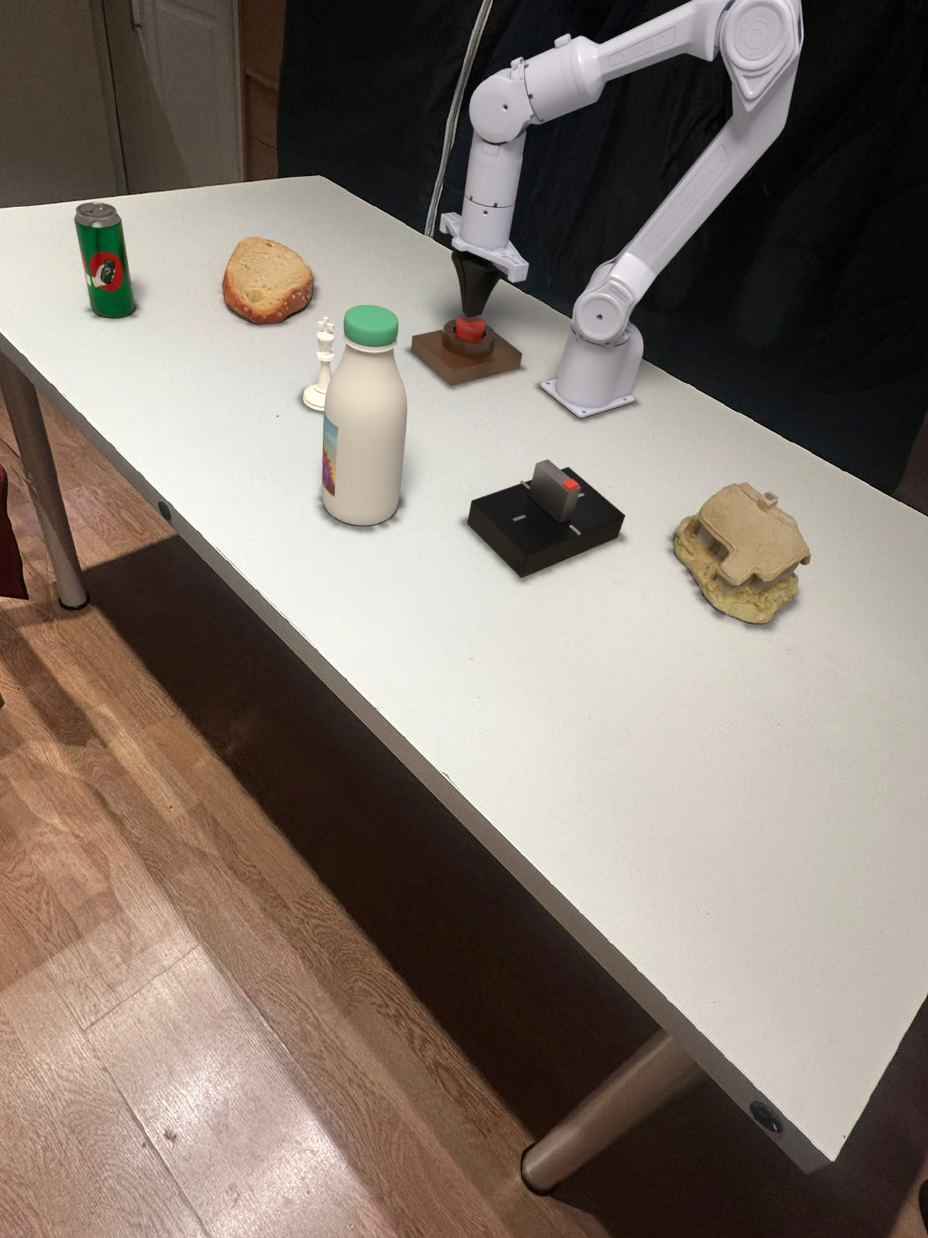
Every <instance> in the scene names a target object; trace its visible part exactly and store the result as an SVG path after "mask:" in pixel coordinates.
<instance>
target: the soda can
mask: <svg viewBox="0 0 928 1238" xmlns="http://www.w3.org/2000/svg"><path fill="white" fill-rule="evenodd" d="M75 212H76V213H75V215H74V217H73V222H74V226H75V231H76V236H77V242H78V247H79V253H80V257H81V258H80V259H81V263H82V267H83V268H82V269H83V272H84V278H85V282H86V283H85V284H86V287H87V292H88V298H89V303H90V307H91V309H92V310H93V311H94V312H95V313H97V314H98V315H99V316H102V317H105V318H112V319H113V318H115V319H116V318H122V317H125V316H128V315H129V314H131V313H132V312H133V310H134V309H135V307H136V306H135V298H134V292H133V285H132V277H131V272H130V265H129V259H128V252H127V246H126V239H125V233H124V227H123V222H122V221H123V220H122V217H121V216H120V215H119V214H118V210H117V208H116V207H115V206H113V205H112V204H109V203H105V202H95V201H93V202H85V203H81V204H79V205H77V207H76V208H75Z"/></svg>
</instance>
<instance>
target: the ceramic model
mask: <svg viewBox="0 0 928 1238" xmlns="http://www.w3.org/2000/svg"><path fill="white" fill-rule="evenodd" d="M778 502H779V497H778V496H777V495H776V494H775V493H774V492H772V491H766V492H763V493H762V494H761V493H760V492H759V491H758V490H757V489H756V488H755V487H753V486H752V485H751V484H750V483H748V481H745V482H741V483H739V484H737V483H730V484H729V485H726V486H723V487H722V488H721V489H719V490H718V491H716V492H715V493H714V494H712V495H711V496H710V497H709V498H708V499H707V500H706V501H705V502H704V503H703V504H702V506H701V507H700V509H699V510H698V511H697V512H696V513H695V514H692V515H688V516H685V517H684V518H682V519H681V521H680V522H679V524H678V525H677V527H676V529H675V535H674V536H675V537H674V539H673V546H674V552H675V555H676V556H677V557H678V559H679V560H680V561H681V562H682V563H683V564H684V565H685V566H686V567H687V568H688V569H689V570H690V572H691V574H692V576H693V577H694V579H695V580H696V581H697V584H698V586H699V588H700V589H701V592H702V594H703V595H704V597H705V598H706V599H707V600H708V601H709V602H710V603H711V604H712V606H714V607H715V609H718V611H720V612H723V613H724V614H727V615H730V616H732V617H735V618H738V619H740V620H742V621H745V622H748V623H753V624H767V623H769V622H771V621H772V619H773V618H774V616H775V614H776V613H777V612H778V611H779V609H781V608H783V607H784V606H786V605H788V604H789V603H791V602H792V601H793V600H794V599H795V598H796V596H797V593H798V591H799V590H798V584H799V581H800V580H799V576H798V574H796V573H795V571H796V569H797V568H798V567H799V565H802V566H807V565H810V563H811V561H812V560H811V557H812V554H811V551H810V547H809V546H808V545H807V544H808V543H807V542H806V541H805V538H804V536H803V534H802V533H801V531H800V528H799V526H798V521H797V520H796V519H795V518H794V516H792V515H790V514H788V513H787V512H786V511H784V510H783V509H782V508H779V507H778V506H777V504H778Z"/></svg>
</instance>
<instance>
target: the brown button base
mask: <svg viewBox="0 0 928 1238" xmlns="http://www.w3.org/2000/svg"><path fill="white" fill-rule="evenodd" d="M456 321H457V318H456V319H455V318H454V319H451V320H448V321H447V322H446V323H444V325H443V327H442V329H437V330H433V331H427V332H424V333H420V334H419V333H418V334H415V335H412V336H411V344H410V352H411V353H412V354H413V355H414V356H415V357H416V358H417V359H419V360H420V361H421V363H423V364H424V365H425V366H426V367H428V368H429V369H430V370H431V371H432V372H433V373H434V374H435V375H437V376H438V377H439V378H440V379H441V380H443V381H444V382H445V383H446V384H447V385H448V386H449V387H454V386H458V385H461V384H466V383H470V382H473V381H477V380H480V379H484V378H488V377H493V376H496V375H501V374H504V373H508V372H511V371H515V370H519V369H520V367H521V363H522V359H523V353H522V352H521V351H520V350H519V349H518V348H516V347H515V346H514V345H513V344H511V343H510V342H509V341H507V340H506V339H505V338H503V337H502V336H501V335H500V334H498V333H497V332H496V331H495V329H493V328H492V327H491V326H490V325H489V324H487V323H485V329H484V335H483V338H482V339H478V340H468V339H464V338H461V337H459V336H457V335H456V334H455V329H456Z"/></svg>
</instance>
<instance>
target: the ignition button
mask: <svg viewBox="0 0 928 1238" xmlns="http://www.w3.org/2000/svg"><path fill="white" fill-rule="evenodd" d="M456 319H457V321H456V329H455V334H456V335H457V336H459V337H461V338H464V339H468V340H478V339H482V338H483V335H484V329H485V324H486V320H484V319H483V318H482V317H480V316H474V317H468V316H466V315H465V314H461V315H459V316H457V318H456Z"/></svg>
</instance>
